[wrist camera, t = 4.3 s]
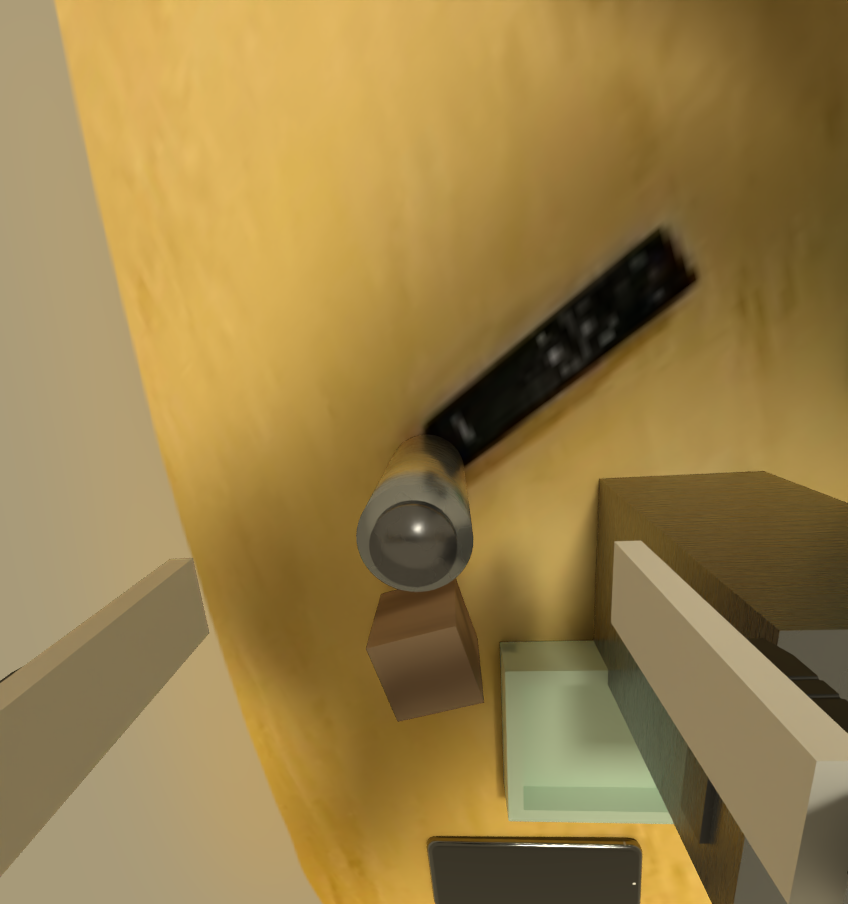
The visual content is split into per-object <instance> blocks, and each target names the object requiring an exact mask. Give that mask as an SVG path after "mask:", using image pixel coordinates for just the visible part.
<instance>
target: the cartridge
mask: <svg viewBox="0 0 848 904" xmlns="http://www.w3.org/2000/svg"><path fill="white" fill-rule="evenodd" d="M356 536H357V546H358V550H359V553H360V556H361V558H362V560H363V562H364V564H365V565H366V567H367V568H368V569H369V570H370V572H371V573H372V574H373V575H374V576H376V577H377V578H378V579H379V580H381V581H382V582H384V583H385V584H387V585H389V586H391V587H394V588H396V589H400V590H404V591H410V592H423V591H430V590H434V589H437V588H440V587H442V586H444V585H446V584H448V583H449V582H451V581H453V580H454V579H455V578H456V577H457V576H458V575H459V574H460V573H461V572H462V571H463V569H464V568H465V566H466V565H467V563H468V561H469V559H470V556H471V553H472V548H473V532H472V524H471V517H470V509H469V501H468V494H467V486H466V479H465V471H464V464H463V460H462V457H461V455H460V453H459V452H458V450H457V449H456V448H455V446H454V445H453V444H451V443H450V442H449V441H447V440H446V439H444V438H442V437H439V436H435V435H418V436H414V437H412V438H410V439H408V440H406V441H405V442H403V443H402V444H401V445H400V446H399V447H398V449H397V450H396V451H395V453H394V455H393V457H392V459H391V461H390V462H389V464H388V466H387V468H386V470H385V472H384V474H383V475H382V477H381V479H380V481H379V483H378V485H377V487H376V489H375V490H374V492H373V494H372V496H371V498H370V500H369V502H368V504H367V505H366V507H365V509H364V511H363V513H362V515H361V517H360V520H359V523H358V527H357V535H356Z"/></svg>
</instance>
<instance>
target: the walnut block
mask: <svg viewBox="0 0 848 904" xmlns="http://www.w3.org/2000/svg"><path fill="white" fill-rule="evenodd" d="M366 650H367V652H368V655H369V657H370V659H371V661H372V664H373V666H374V668H375V671H376V673H377V675H378V678H379V680H380V682H381V684H382V687H383V689H384V691H385V694H386V696H387V698H388V700H389V703H390V705H391V707H392V710H393V712H394V714H395V717H396V719H397V721H398V722H399V721H403V720H408V719H412V718H417V717H421V716H425V715H430V714H434V713H439V712H443V711H448V710H452V709H457V708H461V707H466V706H470V705H475V704H479V703H484V697H483V687H482V677H481V667H480V657H479V647H478V638H477V636H476V633H475V630H474V627H473V625H472V622H471V619H470V616H469V613H468V611H467V608H466V605H465V602H464V600H463V597H462V594H461V591H460V588H459V586H458V583H457V580H456V578H455V579H454V580H453V581H451V582H449V583H448V584H446V585H444V586H442V587H440V588H437V589H434V590H430V591H423V592H410V591H404V590H400V589H398V590H394V591H391V592H387V593H383V594H381V597H380V600H379V604H378V607H377V611H376V614H375V618H374V622H373V625H372V629H371V632H370V636H369V640H368V643H367V647H366Z"/></svg>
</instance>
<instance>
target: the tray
mask: <svg viewBox="0 0 848 904" xmlns="http://www.w3.org/2000/svg"><path fill="white" fill-rule="evenodd" d="M500 667H501V703H502V739H503V775H504V788H505V796H506V804H507V812H508V820H509V821H531V822H588V823H645V824H674V823H673V820H672V818H671V816H670V814H669V812H668V810H667V808H666V806H665V804H664V802H663V800H662V797H661V795H660V793H659V791H658V789H657V787H656V785H655V783H654V781H653V779H652V776H651V774H650V772H649V770H648V768H647V766H646V764H645V762H644V760H643V758H642V755H641V753H640V751H639V749H638V747H637V745H636V743H635V741H634V739H633V737H632V735H631V732H630V730H629V728H628V726H627V724H626V722H625V720H624V718H623V716H622V714H621V711H620V709H619V707H618V705H617V703H616V701H615V699H614V697H613V695H612V693H611V691H610V688H609V686H608V669H607V667H606V665H605V663H604V661H603V659H602V657H601V655H600V653H599V651H598V649H597V647H596V645H595V643H594V641H533V642H500Z"/></svg>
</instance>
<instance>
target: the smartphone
mask: <svg viewBox="0 0 848 904" xmlns="http://www.w3.org/2000/svg"><path fill="white" fill-rule="evenodd" d="M427 852H428V860H429V867H430V875H431V882H432V889H433V897H434V902H435V904H640V898H641V876H642V849H641V847H640V845H639V843H638V842H637V841H636V840H633V839H628V838H587V837H470V836H436V837H431V838H429V839H428V841H427Z"/></svg>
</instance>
